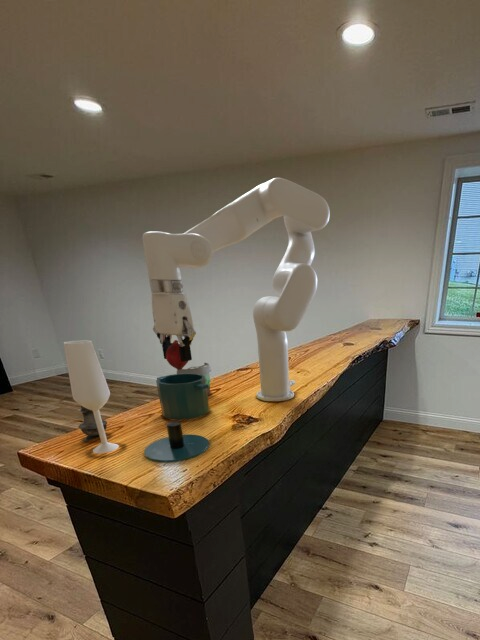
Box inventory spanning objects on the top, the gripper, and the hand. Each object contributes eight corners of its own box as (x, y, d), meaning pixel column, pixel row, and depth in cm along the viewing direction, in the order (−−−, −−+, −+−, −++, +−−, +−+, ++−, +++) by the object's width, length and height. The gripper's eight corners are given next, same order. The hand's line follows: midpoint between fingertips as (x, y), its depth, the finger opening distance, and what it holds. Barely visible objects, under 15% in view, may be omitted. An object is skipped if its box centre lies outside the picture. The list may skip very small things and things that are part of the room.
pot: (182, 403, 110) (177, 370, 106) (225, 412, 102) (221, 377, 98) (147, 414, 100) (140, 379, 96) (191, 426, 92) (185, 388, 88)
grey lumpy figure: (81, 444, 81) (66, 395, 76) (83, 435, 86) (70, 388, 81) (110, 440, 84) (97, 392, 79) (111, 431, 88) (99, 385, 84)
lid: (182, 434, 87) (177, 409, 84) (222, 445, 81) (219, 419, 78) (131, 455, 76) (125, 427, 73) (173, 470, 70) (168, 440, 67)
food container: (193, 402, 111) (188, 371, 107) (180, 399, 114) (175, 368, 110) (221, 392, 121) (218, 364, 117) (209, 390, 124) (205, 362, 120)
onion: (183, 372, 93) (178, 342, 90) (163, 371, 94) (158, 341, 91) (194, 368, 98) (190, 339, 95) (176, 367, 99) (171, 338, 96)
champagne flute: (122, 442, 83) (97, 338, 73) (124, 452, 77) (98, 342, 68) (88, 448, 79) (58, 341, 70) (89, 460, 74) (55, 345, 65)
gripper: (202, 288, 87) (211, 360, 94) (157, 287, 95) (168, 354, 102) (178, 288, 81) (189, 365, 88) (131, 287, 89) (145, 358, 96)
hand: (178, 359), depth 95 cm, fingers closed on onion, 5 cm apart
